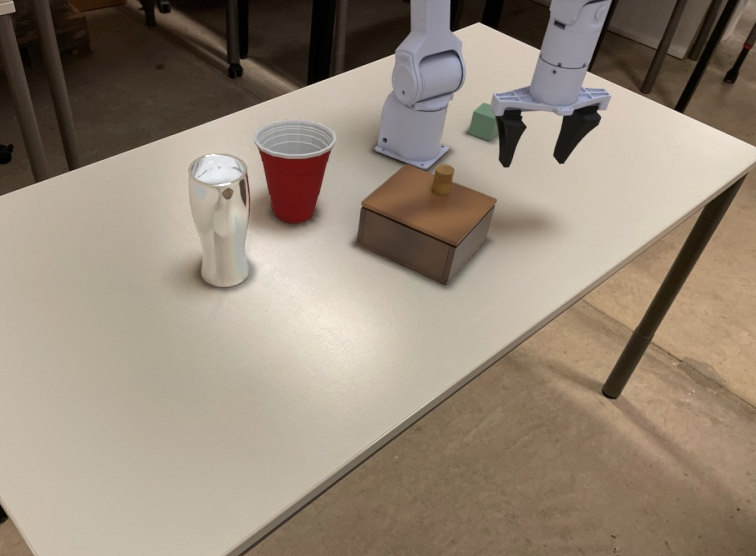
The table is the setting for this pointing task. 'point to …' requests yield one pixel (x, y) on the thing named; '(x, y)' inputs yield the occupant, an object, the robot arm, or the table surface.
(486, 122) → the block
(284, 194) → the plastic cup
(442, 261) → the box
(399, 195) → the lid
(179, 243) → the table surface
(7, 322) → the table surface
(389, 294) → the table surface
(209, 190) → the beer glass
